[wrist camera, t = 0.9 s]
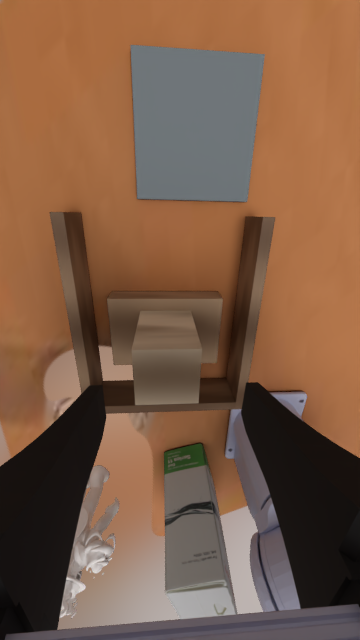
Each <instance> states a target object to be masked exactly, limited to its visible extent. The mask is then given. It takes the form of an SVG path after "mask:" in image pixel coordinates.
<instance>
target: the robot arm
mask: <svg viewBox="0 0 360 640" xmlns="http://www.w3.org/2000/svg"><path fill="white" fill-rule="evenodd" d="M301 399H302V400H301ZM306 399H307V395H306V393H305V392H271V393H269V392H268V391H267V390H266V389H265V388H264V387H262V386H261V385H260V384H259V383H258V382H255V383H246V386H245V392H244V398H243V403H242V409H232V410H231V411H230V419H229V426H228V433H227V440H226V448H225V457H226V458H228V459H231V458H234V460H235V464H236V467H237V470H238V474H239V477H240V481H241V484H242V488H243V491H244V494H245V498H246V501H247V505H248V508H249V510H250V513H251V515H252V517H253V518H254V520H255V522H256V526H257V529H258V532H257V533H255V534H254V535H253V536H252V539H251V545H250V549H251V550H250V566H251V572H252V577H253V581H254V585H255V589H256V592H257V595H258V598H259V601H260V604H261V606H262V609H263V612H260V613H248V614H236V615H224V616H213V617H201V618H190V619H178V620H167V621H155V622H144V623H133V624H121V625H109V626H98V627H87V628H75V629H62V630H57V627H58V622H59V616H60V611H61V605H62V600H63V594H64V589H65V583H66V578H67V573H68V568H69V563H70V558H71V553H72V548H73V543H74V539H75V534H76V529H77V525H78V520H79V516H80V511H81V507H82V502H83V498H84V494H85V491H86V487H87V484H88V481H89V477H90V474H91V471H92V468H93V465H94V462H95V459H96V456H97V453H98V449H99V446H100V443H101V440H102V436H103V431H104V426H105V421H106V410H105V402H104V393H103V385H90V386H88V387H87V389H86V390H85V391H84V392H83V393H82V394H81V395H80V396H79V397H78V398H77V399H76V401H75V402H74V403H73V404H72V405H71V406H70V407H69V408H68V409H67V410H66V411H65V412H64V413H63V414H62V415H61V416H60V417H59V418H58V419H57V420H56V421H55V422H54V423H53V424H52V425H51V426H50V427H49V428H48V429H47V430H45V431H44V432H43V433H42V434H41V435H40V436H39V437H38V438H37V439H35V440H34V441H33V442H32V443H31V444H29V445H28V446H27V447H26V448H24V449H23V450H22V451H21V452H19V453H18V454H17V455H15V456H14V457H13V458H11V459H10V460H8V461H7V462H6V463H4V464H3V465H2V466H0V640H360V458H358V457H357V456H355V455H353V454H352V453H350V452H348V451H347V450H345V449H343V448H341V447H340V446H338V445H337V444H335V443H333V442H332V441H330V440H329V439H327V438H326V437H324V436H323V435H322V434H320V433H319V432H317V431H316V430H314V429H313V428H312V427H310V426H309V425H308V424H306V423H305V422H304V421H303V419H302V418H301V416H302V412H303V409H304V406H305V402H306Z"/></svg>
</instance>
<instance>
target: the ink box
mask: <svg viewBox="0 0 360 640" xmlns="http://www.w3.org/2000/svg"><path fill="white" fill-rule="evenodd" d="M164 493H165V593H166V595H167V597H168V599H169V600H170V602H171V604H172V606H173V607H174V609H175V611H176V613H177V614H178V616H179V618H180V619H190V618H201V617H213V616H224V615H236V614H237V610H236V605H235V599H234V593H233V587H232V582H231V576H230V570H229V565H228V559H227V553H226V548H225V542H224V536H223V531H222V525H221V520H220V514H219V508H218V503H217V497H216V492H215V487H214V483H213V479H212V475H211V472H210V468H209V465H208V461H207V458H206V454H205V451H204V447H203V445H202V444H195V445H191V446H186V447H182V448H178V449H174V450H170V451H167V452H164Z"/></svg>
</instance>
